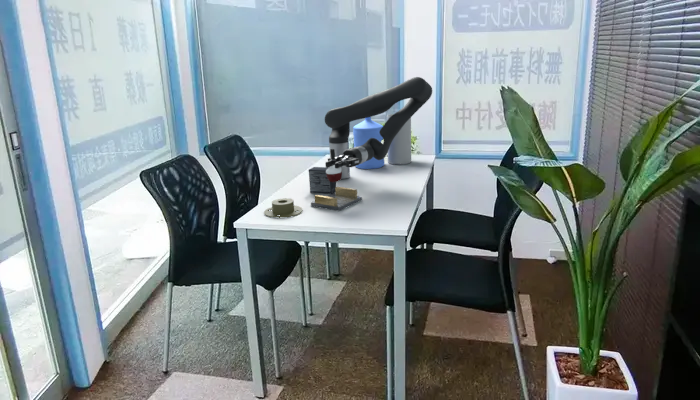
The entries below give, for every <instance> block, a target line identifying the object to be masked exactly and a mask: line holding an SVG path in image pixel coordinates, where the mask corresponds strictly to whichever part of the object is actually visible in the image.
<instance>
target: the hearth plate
mask: <svg viewBox="0 0 700 400" xmlns="http://www.w3.org/2000/svg"><path fill="white" fill-rule="evenodd" d="M361 200H362V201H363V197H362V196H358V189H356V188H351V187H344V186H336V187H335V191H334V192H333V193H332V194H328V195H320V194H315V195H314V200H313V201H310V206H311V207H313V206H315V207H314V208H319V207H321V208H320V209H325V208H327V210H331V209H334V210H333V211H336V210H340V211H342V210H344V209H347V208H349V207H350V206H353V205H356V204H358V203H360V202H361ZM348 206H349V207H348ZM346 207H347V208H346Z"/></svg>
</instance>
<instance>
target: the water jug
mask: <svg viewBox="0 0 700 400" xmlns="http://www.w3.org/2000/svg"><path fill="white" fill-rule="evenodd" d="M383 126H384V124H383V125H382V124H381V123H378V122H376V121H374V120H372V117H368V118H364V120H362V121H361V122H359V123H357V124H356V125H354V126H353V129H352V135H353V148H354V147H358V146H361V145H363V144H365V143H366V142H367V141H368V140H369V139H370V138H375V139H377V140H378V141H380V142H381V143H382V141H384V139H383V138H382V136H381V135H380V133H379V132H380V130H381V128H382V127H383ZM384 166H385V158H383V159H382V160H377V159H375V158H374V157H373V158H372V159H370V160H368V161H365V162H363V163H362V164H359V165H357V166H354V168H357V169H360V170H375V169H380V168H383V167H384Z"/></svg>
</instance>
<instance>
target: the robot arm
mask: <svg viewBox="0 0 700 400" xmlns="http://www.w3.org/2000/svg"><path fill="white" fill-rule="evenodd" d="M432 94H433V87H432V86H431V85H430V83H428V81H426V80H425V78H422V77H420V76H416V77H412V78H410V79H407V80H405V81H403V82H402V83H400V84H397V85H395V86H392V87H390V88H388V89H384V90H382V91H378V92H376V93H373V94H370V95H368V96H365V97H363V98H360V99H358V100H357V101H355V102H353V103H351V104H349V105H346V106H340V107H339V106H338V107H335V108H332V109H330V110H328V111H327V112H326V113H325V116H324V124H325V125H326V126H327V127H328V128H330V129H331V132H330V134H329V136H328V145H329V146H328V147H329V150H330V149H334V151H335V159H331V153H330V152H329V157H328V158H327V161H325V167H331V166H333V161H334V160H335V161H336V163H335V168H339V167H341V171H342V177H341V179H340V180H345V179H349V178H350V177H351V173H350V172H351V171H350V168H355V166H357V165H359V164H362V163H363V162H365V161H368V160H370V159H372V158H373V157H374V158H375V159H377V160H382V159H383V158H384V159H385V158H386V156H388V150H389V147H390V145H391V143H392V141H393V139H394V138H395V136H396V135H397V134H398V132H399V131H400V130H401V128H402V127H403V126H404V124H405V123H406V122H407V121H408V120H409V119H410V118H411V119H412V117H413V116H414V115H415V114H416V113H417V112H418V111H419V110H420V109H421V108H422V107H423V106H424V105H425V104H426V103H427V102H428V101H429V99H431V97H432ZM407 99H409V100H408V101H407V102H406V104H405V105H404V106H403V107H401V108H400V109H399V110H397V111H396V112H395V113H392V114H393V115H392V116H391V117H390V118H389V119H388V120H387V119H386V122H385V123H384V124H383V127H382V128H381V130H380V132H379V133H380V135H381V136H382V138H383V142H382V141H381V142H380V141H378V140H377V139H375V138H370V139H369V140H368V141H367V142H366V143H365V144H363V145H361V146H358V147H354V146H353V147H352V148H349V147H350V146H349V145H350V144H349V137H350V133H351V130H350V127H351V126H350V125H351V122H354V121H359V120H362V119H364V120H365V118H368V117H371V118H372V117H375V116H378V115H381V114H383V113H386V112H387V111H389V110H390V109H392V108H393V106H395V104H397V103H398V102H401V101H404V100H407Z"/></svg>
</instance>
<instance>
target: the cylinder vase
mask: <svg viewBox="0 0 700 400" xmlns="http://www.w3.org/2000/svg"><path fill="white" fill-rule="evenodd" d="M393 114H394V113H392V114H391V113H389V114H387V115H386V121H387V120H388V119H389V118H390V117H391V116H392V115H393ZM387 163H388V164H390V165H398V166H399V165H409V164H410V163H412V117H411V118H410V119H409V120H408V121H407V122H406V123H405V124H404V126H403V127H402V128H401V130H400V131H399V132H398V134H397V135H396V136H395V138H394V139H393V141H392V143H391V145H390V147H389V150H388V153H387Z"/></svg>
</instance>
